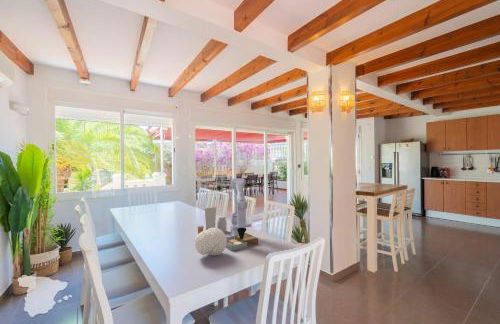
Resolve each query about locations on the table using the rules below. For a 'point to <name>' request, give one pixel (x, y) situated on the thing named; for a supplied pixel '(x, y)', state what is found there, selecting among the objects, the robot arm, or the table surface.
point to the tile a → (232, 241)
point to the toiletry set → (213, 220)
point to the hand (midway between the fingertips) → (241, 238)
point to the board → (247, 239)
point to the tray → (235, 247)
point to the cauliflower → (211, 241)
